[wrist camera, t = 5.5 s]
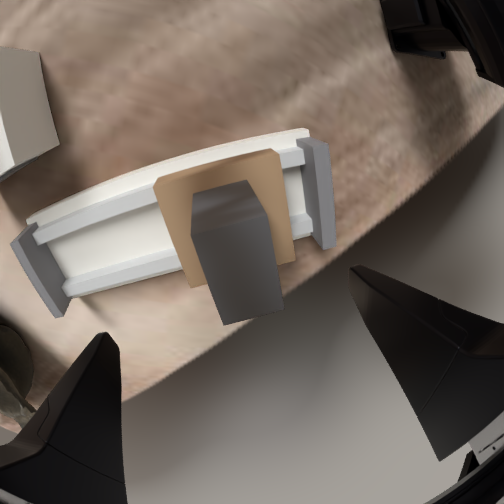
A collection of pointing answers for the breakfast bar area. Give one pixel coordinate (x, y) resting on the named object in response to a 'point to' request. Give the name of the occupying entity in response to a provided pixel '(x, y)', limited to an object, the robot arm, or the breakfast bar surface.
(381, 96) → the breakfast bar surface
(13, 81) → the push button box
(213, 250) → the carriage
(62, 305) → the rail track
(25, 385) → the stone bowl
